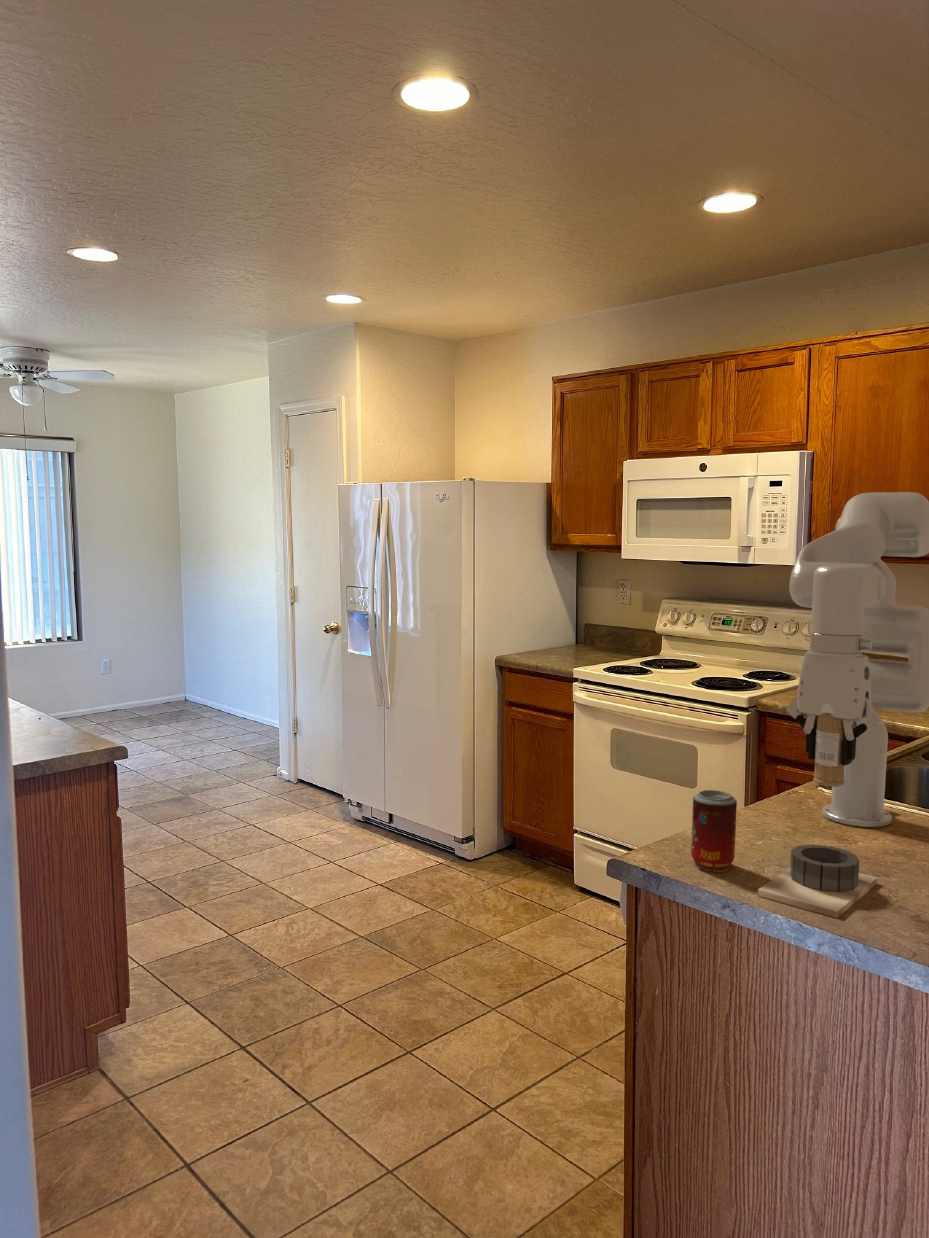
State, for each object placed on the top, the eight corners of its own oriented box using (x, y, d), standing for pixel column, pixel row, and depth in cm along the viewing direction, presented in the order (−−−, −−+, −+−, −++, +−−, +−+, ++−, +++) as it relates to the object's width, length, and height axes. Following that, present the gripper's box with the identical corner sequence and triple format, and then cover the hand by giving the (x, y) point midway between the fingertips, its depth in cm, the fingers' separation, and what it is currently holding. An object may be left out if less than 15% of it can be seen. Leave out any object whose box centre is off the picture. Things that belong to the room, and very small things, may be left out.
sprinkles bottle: (850, 784, 142) (854, 700, 141) (832, 789, 140) (836, 702, 138) (824, 778, 146) (828, 695, 145) (806, 782, 143) (810, 697, 142)
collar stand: (802, 864, 154) (804, 835, 153) (877, 883, 146) (878, 853, 145) (757, 895, 140) (759, 864, 140) (837, 918, 132) (839, 884, 132)
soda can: (690, 856, 157) (693, 786, 156) (733, 860, 155) (736, 790, 154) (690, 870, 150) (693, 798, 149) (734, 875, 148) (738, 802, 147)
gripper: (901, 648, 138) (894, 766, 140) (791, 638, 149) (786, 748, 151) (885, 652, 132) (878, 775, 134) (773, 642, 143) (767, 755, 145)
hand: (829, 759), depth 142 cm, fingers closed on sprinkles bottle, 4 cm apart
